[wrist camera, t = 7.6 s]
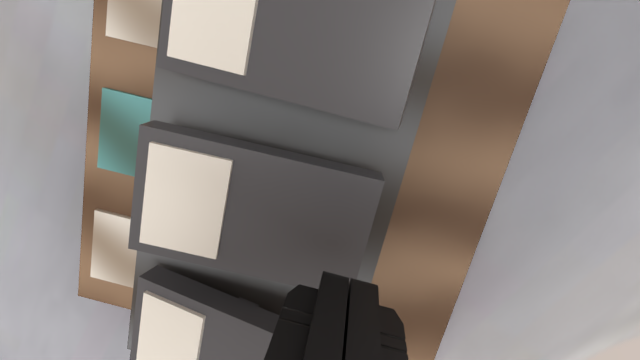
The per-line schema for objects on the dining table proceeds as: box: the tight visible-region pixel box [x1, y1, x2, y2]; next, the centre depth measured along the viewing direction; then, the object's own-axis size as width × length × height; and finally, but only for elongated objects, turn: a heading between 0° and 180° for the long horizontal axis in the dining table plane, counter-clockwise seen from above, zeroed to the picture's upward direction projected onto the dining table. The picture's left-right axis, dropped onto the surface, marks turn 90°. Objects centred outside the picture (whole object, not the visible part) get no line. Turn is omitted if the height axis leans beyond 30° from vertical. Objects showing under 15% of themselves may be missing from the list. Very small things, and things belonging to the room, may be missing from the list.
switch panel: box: [78, 0, 570, 360], centre depth 20 cm, size 22×22×5 cm
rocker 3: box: [130, 265, 280, 360], centre depth 18 cm, size 5×9×2 cm, turn 77°
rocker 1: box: [157, 0, 436, 131], centre depth 14 cm, size 5×9×2 cm, turn 77°
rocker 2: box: [128, 120, 385, 289], centre depth 16 cm, size 5×9×2 cm, turn 77°
